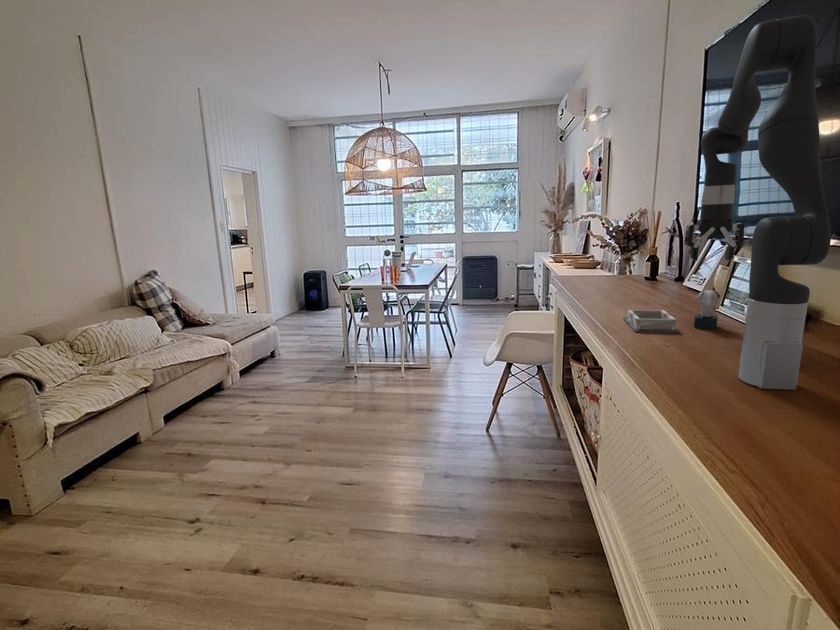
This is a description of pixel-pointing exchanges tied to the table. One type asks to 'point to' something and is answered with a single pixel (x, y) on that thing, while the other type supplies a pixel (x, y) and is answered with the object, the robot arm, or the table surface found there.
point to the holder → (651, 321)
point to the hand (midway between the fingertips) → (711, 260)
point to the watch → (706, 310)
